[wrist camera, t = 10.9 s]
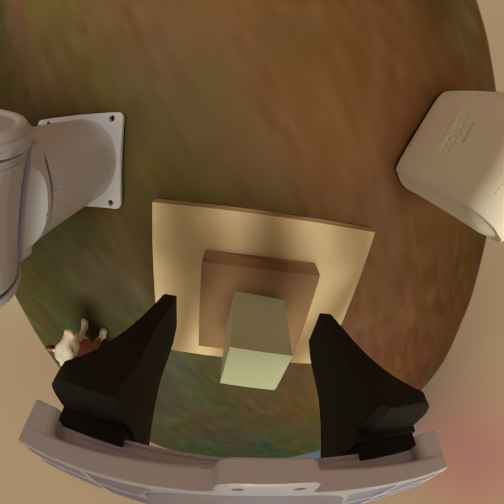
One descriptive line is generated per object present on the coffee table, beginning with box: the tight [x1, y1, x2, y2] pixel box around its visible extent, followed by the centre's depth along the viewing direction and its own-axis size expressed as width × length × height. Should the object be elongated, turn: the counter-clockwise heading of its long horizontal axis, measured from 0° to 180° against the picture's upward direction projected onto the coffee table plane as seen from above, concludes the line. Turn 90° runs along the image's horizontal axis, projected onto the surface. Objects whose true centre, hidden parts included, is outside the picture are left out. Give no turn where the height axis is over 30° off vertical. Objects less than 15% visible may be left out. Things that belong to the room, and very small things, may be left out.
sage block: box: [220, 291, 293, 390], centre depth 20 cm, size 4×4×6 cm
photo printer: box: [396, 91, 504, 242], centre depth 13 cm, size 10×4×12 cm, turn 149°
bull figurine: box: [46, 318, 107, 366], centre depth 25 cm, size 4×13×8 cm, turn 1°
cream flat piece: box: [152, 199, 375, 363], centre depth 24 cm, size 18×16×3 cm
